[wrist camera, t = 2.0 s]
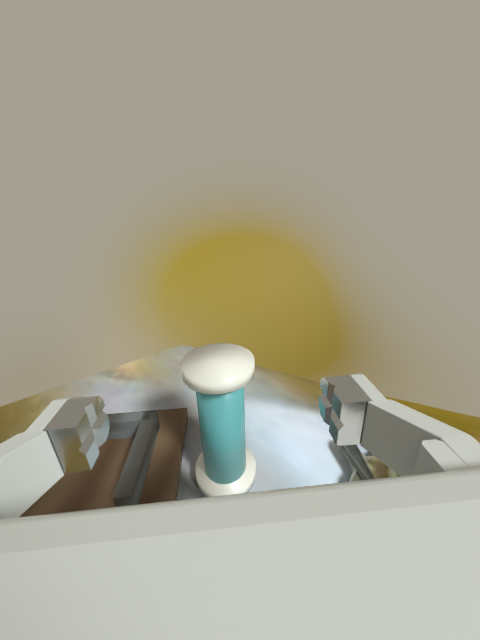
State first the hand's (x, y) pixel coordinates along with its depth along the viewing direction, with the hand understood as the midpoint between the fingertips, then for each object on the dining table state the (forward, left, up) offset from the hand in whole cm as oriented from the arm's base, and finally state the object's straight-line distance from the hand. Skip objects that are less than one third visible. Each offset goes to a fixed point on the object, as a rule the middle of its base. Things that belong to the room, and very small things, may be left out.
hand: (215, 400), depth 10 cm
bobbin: (0, +12, -19) cm, 23 cm away
